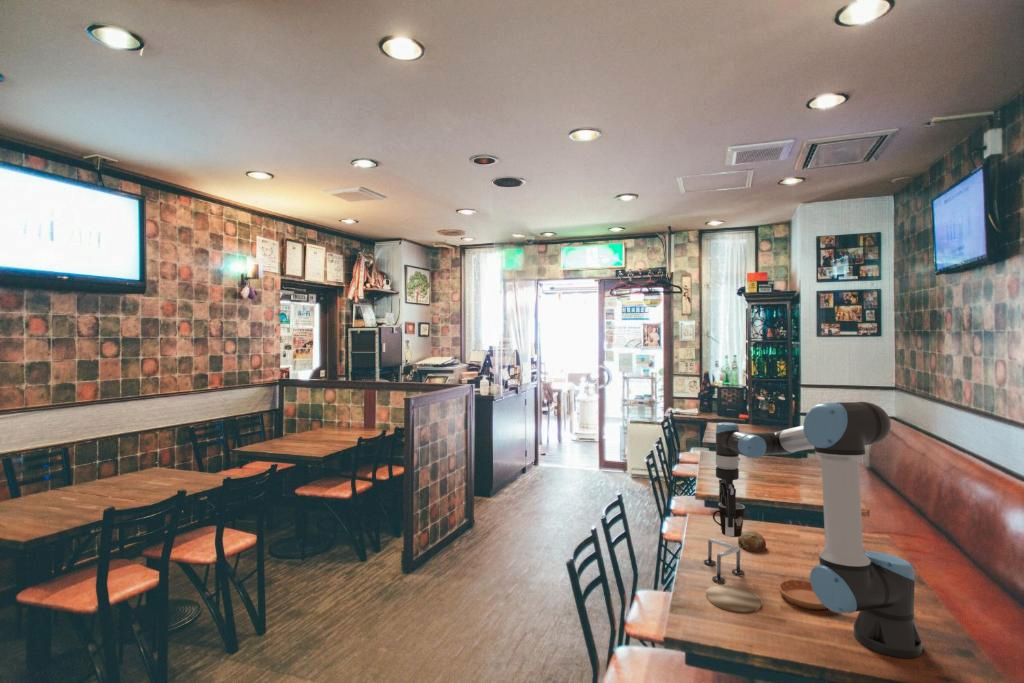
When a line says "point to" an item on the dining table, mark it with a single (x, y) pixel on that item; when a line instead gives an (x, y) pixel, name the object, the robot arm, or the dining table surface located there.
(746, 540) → the bread roll
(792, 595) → the saucer
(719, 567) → the bent wire
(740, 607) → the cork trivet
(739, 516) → the coffee mug
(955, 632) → the dining table surface
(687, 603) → the dining table surface
